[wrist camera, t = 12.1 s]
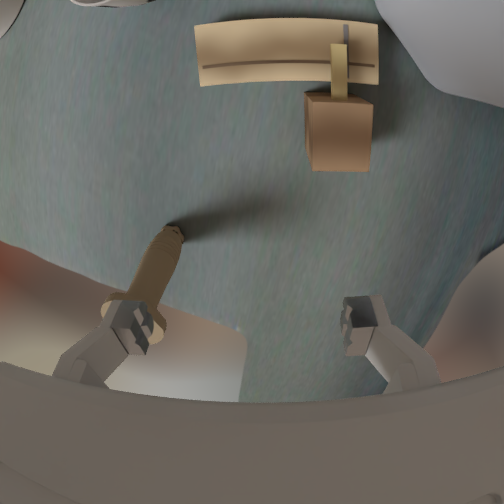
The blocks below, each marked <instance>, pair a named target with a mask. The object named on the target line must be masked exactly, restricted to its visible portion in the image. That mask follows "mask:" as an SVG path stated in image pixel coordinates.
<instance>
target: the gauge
mask: <svg viewBox="0 0 504 504" xmlns="http://www.w3.org/2000/svg"><path fill="white" fill-rule="evenodd" d="M330 62H331V93H322V92H304V108H305V149H306V152H307V155H308V158H309V161H310V164H311V167H312V171H354V172H369V165H370V154H371V140H372V123H373V104H371V103H369V102H367V101H365V100H363V99H362V98H360V97H358V96H356V95H354V94H347V45H346V44H330Z"/></svg>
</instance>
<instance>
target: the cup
mask: <svg viewBox="0 0 504 504" xmlns="http://www.w3.org/2000/svg"><path fill="white" fill-rule="evenodd" d="M70 1H71V2H73V3H75V4H77V5H81V6H99V7H126V6H138V5H143V4H146V3H149V2H152V1H155V0H70Z"/></svg>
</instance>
